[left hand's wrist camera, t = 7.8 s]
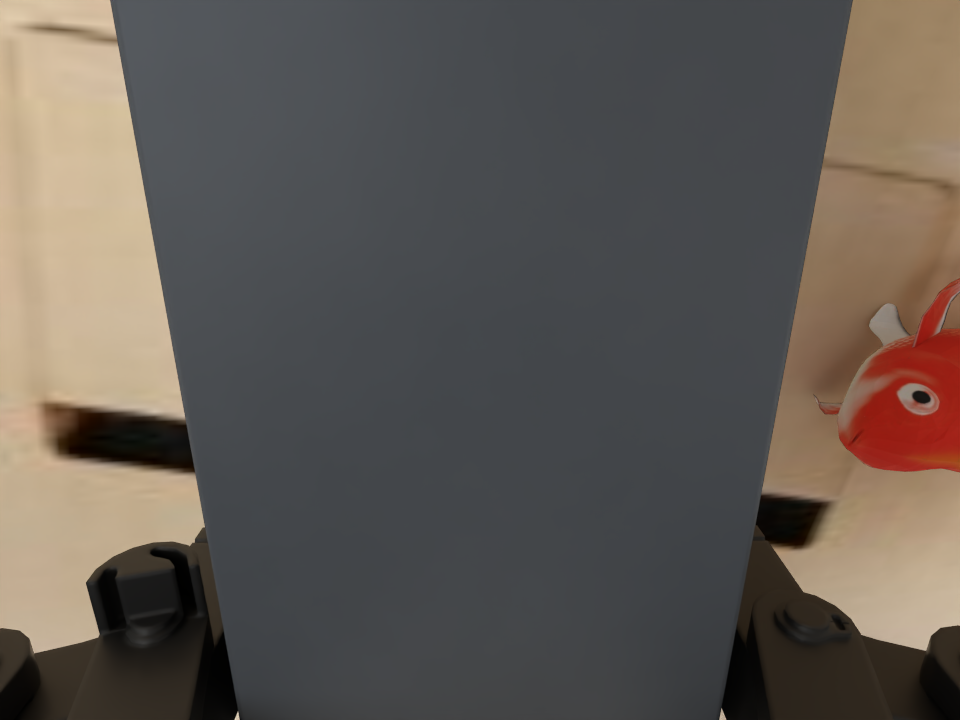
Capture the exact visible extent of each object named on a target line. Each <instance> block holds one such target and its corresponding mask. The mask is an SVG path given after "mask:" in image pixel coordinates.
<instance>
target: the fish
mask: <svg viewBox="0 0 960 720" xmlns="http://www.w3.org/2000/svg"><path fill="white" fill-rule="evenodd" d="M959 293H960V278H959V279H957V280H955V281H953V282H951V283H950V284H949V285H948V286H946V287H945V288H944V289H943V290H942V291H940V292H939V294H938V295H937V297H936V299H935V300H934V302H933V303H932V304H931V306H930V307H929V308H928V310H927V311H926V312H925V313H924V315H923V316H922V319H921V322H920V324H919V327H918V330H917V334H915V335H911V336H910V335H909V334H908V333H907V331H906V330H905V329H904V327H903V325H902V323H901V321H900V318H899V315H898V311H897V307H896V306H895V305H894V304H890V303H887V304H885V305H883V306H882V307H881V308H880V310H879V311H878V312H877V313H876V314H875V316H874V317H873V318H872V319H871V321H870V324H869V327H870V329H871V331H872V332H873V333H874V334H875V335H876V336H877V337H878V338H879V339H880V340H881V342H882V344H883V347H882V348H880V349H879V350H877V351H876V352H874V353H873V354H872V355H870V356H869V357H868V358H867V359H866V360H865V361H864V363H863V364H862V365H861V367H860V368H859V370H858V371H857V373H856V375H855V377H854V379H853V380H852V382H851V384H850V387H849V389H848V391H847V394H846V396H845V398H844V401H843V403H838V404H834V403H820V402H819V401H818V399H817V398H816V396H815V395H814V397H815V400H816V402H817V404H818V405H819V407H820V409H821V410H822V411H823V412H824V414H831V415H834V414H838V419H837V423H838V432H839V438H840V440H841V442H842V443H843V444H844V446H845V447H846V449H848V450H849V451H851V452H852V453H853V454H854V455H855V456H856V457H857V458H858V459H859V460H860V461H861V462H863V463H864V464H866V465H868V466H870V467H873V468H878V469H883V470H893V471H904V472H906V471H921V470H928V469H939V468H943V469H948V470H952V471H956V472H960V329H942V326H943V324H944V322H945V318H946V315H947V311H948V309H949V306H950V303H951V302H952V300H953V299H954V298H955V297H956V296H957V295H958V294H959Z"/></svg>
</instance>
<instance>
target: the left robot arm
mask: <svg viewBox="0 0 960 720" xmlns="http://www.w3.org/2000/svg"><path fill="white" fill-rule="evenodd" d="M86 585H87V589H88V592H89V596H90V600H91V603H92V607H93V611H94V614H95V618H96V622H97V625H98V629H99V633H100V635H99V637H98V638H96V639H92V640H89V641H86V642H82V643H78V644H74V645H70V646H65V647H61V648H57V649H52V650H48V651H44V652H39V653H35V654H34V652H33V649H32V646H31V643H30V640H29V638H28V637H27V636H25V635H24V634H23V633H22V632H21V631H18V630H11V629H4V628H1V629H0V720H234V719H235V717H236V714H237V712H238V707H237V701H236V696H235V690H234V685H233V679H232V674H231V668H230V662H229V657H228V651H227V646H226V640H225V635H224V629H223V624H222V618H221V612H220V607H219V601H218V596H217V590H216V585H215V579H214V574H213V568H212V562H211V557H210V551H209V546H208V540H207V535H206V529H205V528H202V530H201V531H200V533H199V534H198V536H197V537H196V538H195V543H192V544H191V546H190V547H189V546H188V545H184V544H180V543H176V542H156V543H150V544H146V545H142V546H138V547H134V548H132V549H129V550H127V551H125V552H123V553H121V554H118V555H116V556H114V557H112V558H111V559H109V560H108V561H107V562H105V563H104V564H103V565H101V566H100V567H99V568H97V569H96V570H95V571H94V573H93V574H92V575H91V577H90V578H89V579H88V581H87V582H86ZM722 710H723V712H724V715H725V717H726V719H727V720H960V626H951V627H944V628H940V629H939V630H938V631H936V632H935V633H934V634H933V635H932V636H931V638H930V641H929V644H928V647H927V650H926V651H923V650H919V649H915V648H910V647H906V646H902V645H897V644H893V643H889V642H884V641H880V640H876V639H873V638H870V637H866V636H863V635H861V634H860V632H859V631H858V629H857V627H856V626H855V624H854V623H853V621H852V620H851V619H850V618H849V617H848V616H847V615H846V614H844V613H843V612H842V611H841V610H840V609H838V608H837V607H836V606H835V605H833V604H831V603H829V602H827V601H825V600H823V599H821V598H819V597H817V596H815V595H811V594H808V593H804V592H803V591H802V590H801V588H800V587H799V585H798V584H797V582H796V581H795V579H794V578H793V577H792V575H791V574H790V572H789V571H788V569H787V568H786V567H785V565H784V564H783V562H782V561H781V559H780V558H779V556H778V555H777V554H776V552H775V551H774V549H773V548H772V546H771V545H770V543H769V542H768V541H765V536H764V535H763V533H762V532H761V531H760V529H759V528H758V526H757V525H755V529H754V535H753V540H752V546H751V551H750V556H749V562H748V567H747V572H746V578H745V583H744V589H743V594H742V599H741V605H740V610H739V616H738V621H737V626H736V632H735V637H734V642H733V648H732V653H731V659H730V664H729V669H728V675H727V680H726V686H725V691H724V696H723V702H722Z"/></svg>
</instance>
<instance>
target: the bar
mask: <svg viewBox="0 0 960 720" xmlns="http://www.w3.org/2000/svg"><path fill="white" fill-rule="evenodd" d="M110 1H111V7H112V12H113V18H114V24H115V29H116V35H117V40H118V46H119V51H120V57H121V62H122V68H123V74H124V79H125V85H126V90H127V96H128V101H129V107H130V112H131V118H132V124H133V129H134V135H135V140H136V146H137V151H138V157H139V162H140V168H141V174H142V179H143V185H144V190H145V196H146V201H147V207H148V212H149V218H150V224H151V229H152V235H153V240H154V246H155V251H156V257H157V262H158V268H159V274H160V279H161V285H162V290H163V296H164V301H165V307H166V312H167V318H168V324H169V329H170V335H171V340H172V346H173V351H174V357H175V362H176V368H177V374H178V379H179V385H180V390H181V396H182V401H183V407H184V412H185V418H186V424H187V429H188V435H189V440H190V446H191V451H192V457H193V462H194V468H195V474H196V479H197V485H198V490H199V496H200V501H201V507H202V512H203V518H204V524H205V529H206V535H207V540H208V546H209V551H210V557H211V562H212V568H213V574H214V579H215V585H216V590H217V596H218V601H219V607H220V612H221V618H222V624H223V629H224V635H225V640H226V646H227V651H228V657H229V662H230V668H231V674H232V679H233V685H234V690H235V696H236V701H237V707H238V712H239V718H240V720H719V718H720V713H721V707H722V702H723V696H724V691H725V686H726V680H727V675H728V669H729V664H730V659H731V653H732V648H733V642H734V637H735V632H736V626H737V621H738V616H739V610H740V605H741V599H742V594H743V589H744V583H745V578H746V572H747V567H748V562H749V556H750V551H751V546H752V540H753V535H754V529H755V524H756V519H757V513H758V508H759V502H760V497H761V492H762V486H763V481H764V475H765V470H766V465H767V459H768V454H769V449H770V443H771V438H772V432H773V427H774V422H775V416H776V411H777V405H778V400H779V395H780V389H781V384H782V378H783V373H784V368H785V362H786V357H787V352H788V346H789V341H790V335H791V330H792V325H793V319H794V314H795V308H796V303H797V298H798V292H799V287H800V282H801V276H802V271H803V265H804V260H805V255H806V249H807V244H808V238H809V233H810V228H811V222H812V217H813V211H814V206H815V201H816V195H817V190H818V185H819V179H820V174H821V168H822V163H823V158H824V152H825V147H826V141H827V136H828V131H829V125H830V120H831V114H832V109H833V104H834V98H835V93H836V88H837V82H838V77H839V71H840V66H841V61H842V55H843V50H844V44H845V39H846V34H847V28H848V23H849V17H850V12H851V7H852V1H853V0H110Z"/></svg>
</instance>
